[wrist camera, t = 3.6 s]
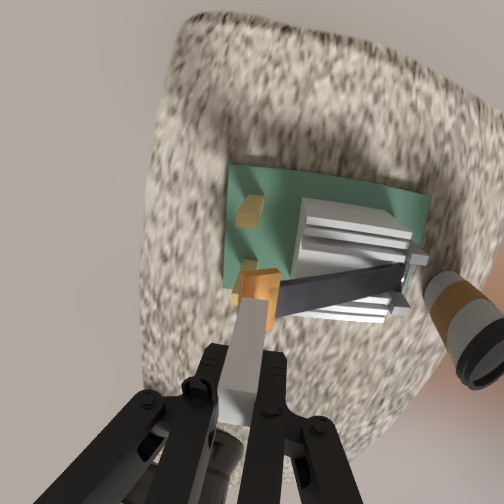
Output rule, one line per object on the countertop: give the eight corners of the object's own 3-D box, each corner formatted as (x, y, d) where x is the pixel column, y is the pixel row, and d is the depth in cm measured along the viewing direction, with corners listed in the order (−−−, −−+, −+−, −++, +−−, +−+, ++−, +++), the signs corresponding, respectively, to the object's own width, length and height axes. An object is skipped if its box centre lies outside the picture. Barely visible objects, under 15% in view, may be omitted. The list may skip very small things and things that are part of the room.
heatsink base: (426, 194, 26) (471, 217, 18) (396, 301, 32) (421, 348, 23) (231, 163, 28) (207, 174, 19) (224, 282, 33) (205, 330, 25)
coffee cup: (469, 294, 30) (522, 360, 16) (425, 325, 32) (466, 404, 19) (457, 250, 28) (526, 314, 14) (408, 285, 30) (459, 368, 17)
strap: (407, 250, 22) (415, 255, 22) (394, 291, 24) (401, 297, 23) (239, 270, 16) (244, 278, 16) (235, 327, 18) (240, 337, 17)
